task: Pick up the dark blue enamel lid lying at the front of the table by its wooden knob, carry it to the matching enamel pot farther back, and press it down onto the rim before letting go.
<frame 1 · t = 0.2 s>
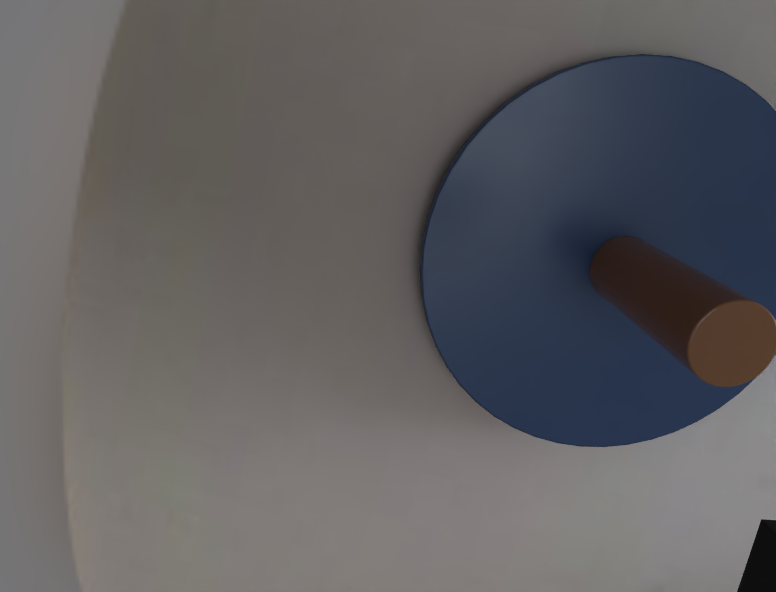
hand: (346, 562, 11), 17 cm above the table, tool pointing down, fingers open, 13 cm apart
pot lid: (616, 264, 27), point 1 cm above the table
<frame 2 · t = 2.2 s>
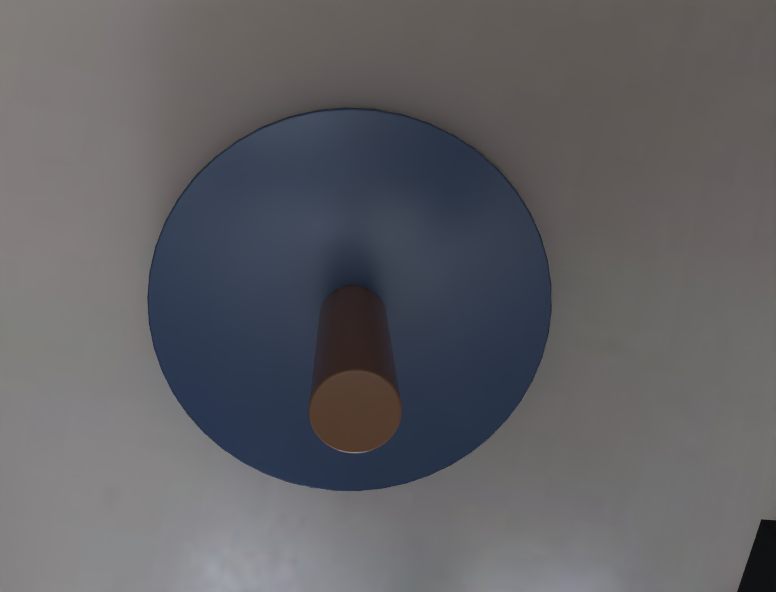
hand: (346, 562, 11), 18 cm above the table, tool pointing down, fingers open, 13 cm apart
pot lid: (352, 311, 27), point 1 cm above the table
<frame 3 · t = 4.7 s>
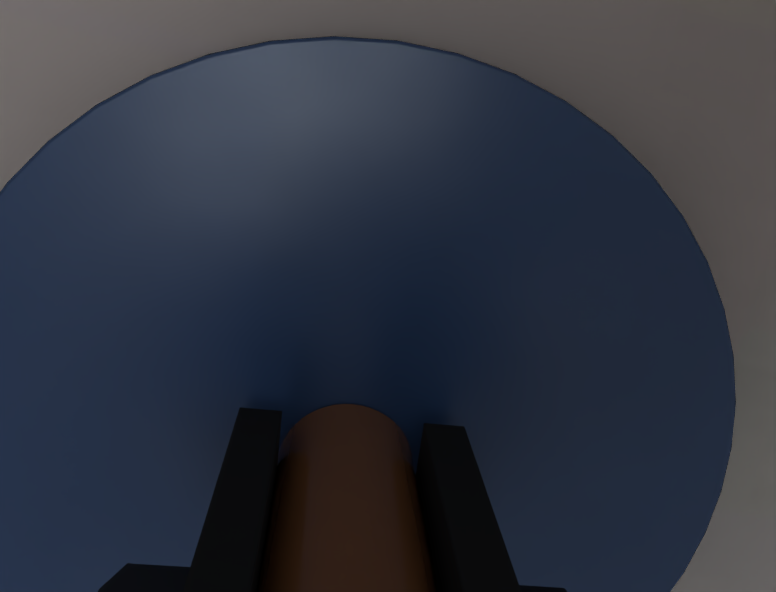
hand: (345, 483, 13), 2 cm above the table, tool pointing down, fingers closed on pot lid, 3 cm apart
pot lid: (345, 446, 14), point 1 cm above the table, touching gripper
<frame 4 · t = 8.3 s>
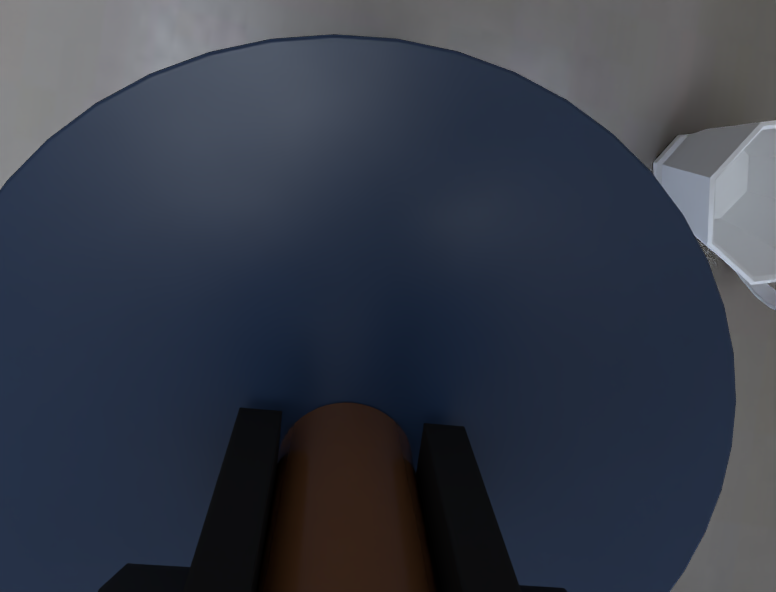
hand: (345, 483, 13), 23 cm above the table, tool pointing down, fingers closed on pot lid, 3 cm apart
cup: (701, 199, 35), on the table
pot lid: (345, 445, 14), point 22 cm above the table, touching gripper
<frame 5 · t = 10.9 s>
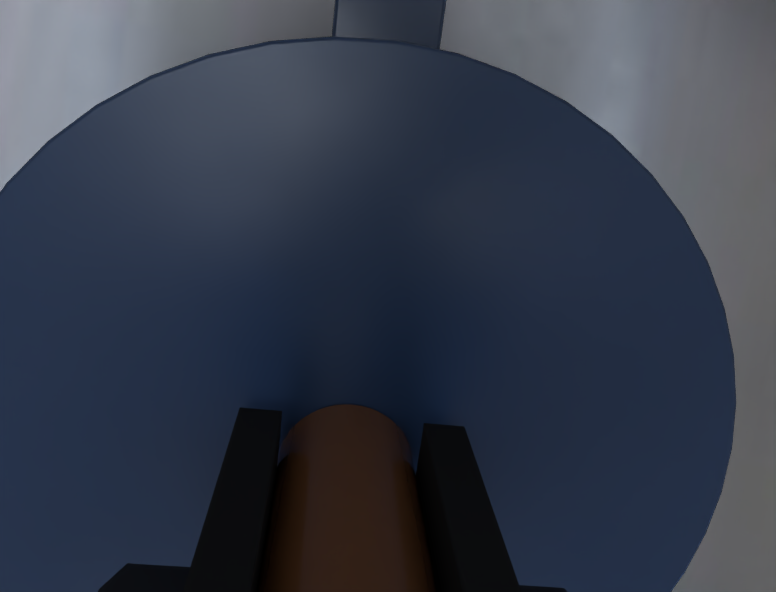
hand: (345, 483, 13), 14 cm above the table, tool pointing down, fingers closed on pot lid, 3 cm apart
pot: (346, 275, 26), on the table
pot lid: (345, 447, 14), point 12 cm above the table, touching gripper
when the fingers open (11 cm above the table, at t = 12.2 s): pot lid stays where it is, resting on pot.
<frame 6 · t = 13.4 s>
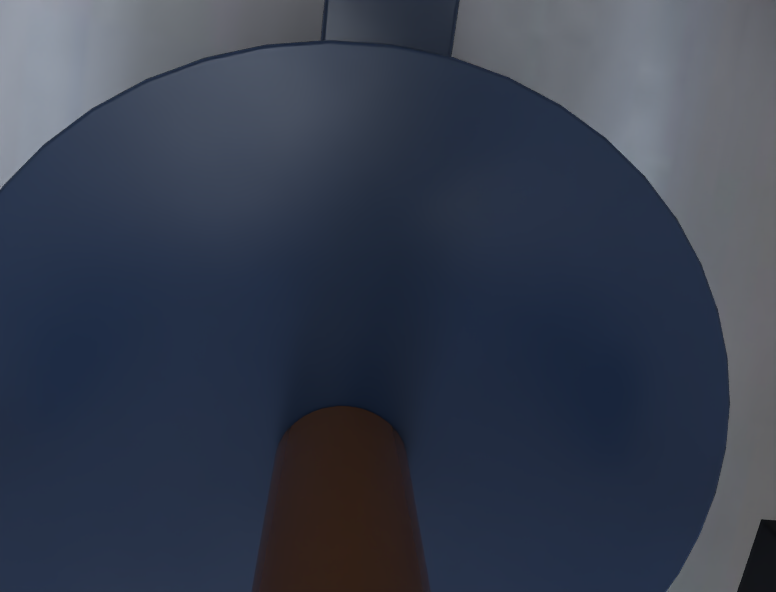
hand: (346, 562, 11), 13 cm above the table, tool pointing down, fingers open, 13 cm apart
pot: (341, 303, 23), on the table
pot lid: (341, 448, 14), point 9 cm above the table, touching pot
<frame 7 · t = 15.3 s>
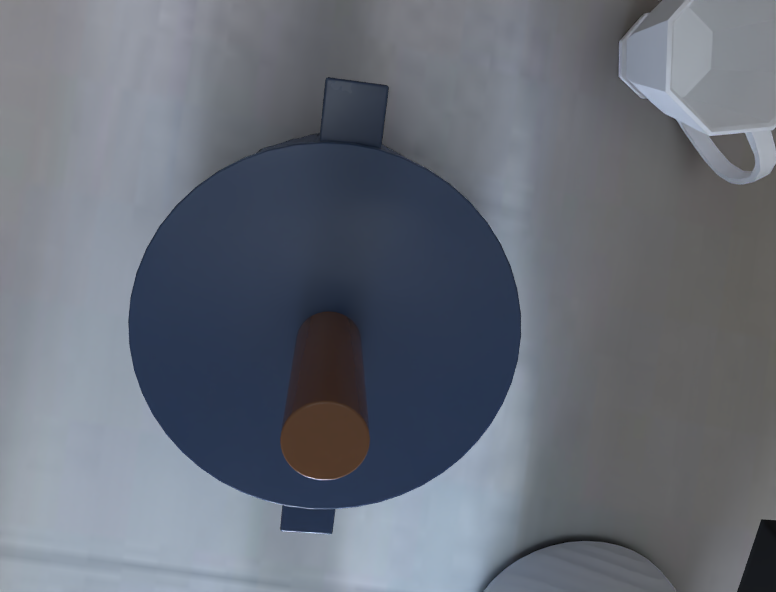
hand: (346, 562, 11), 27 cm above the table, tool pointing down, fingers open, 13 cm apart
pot: (331, 273, 37), on the table
cup: (666, 82, 36), on the table
pot lid: (329, 336, 28), point 9 cm above the table, touching pot
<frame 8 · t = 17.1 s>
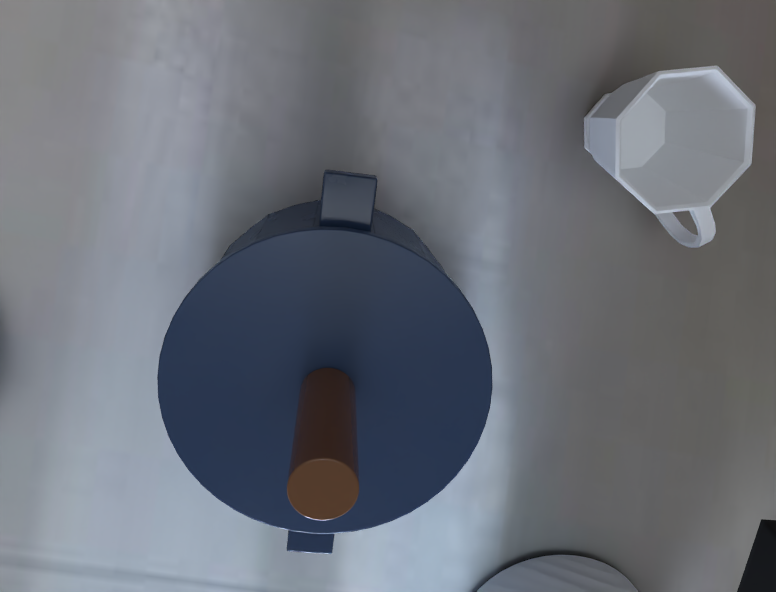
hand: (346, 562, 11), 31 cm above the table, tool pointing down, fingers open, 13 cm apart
pot: (331, 319, 42), on the table
cup: (627, 152, 40), on the table
pot lid: (327, 387, 33), point 9 cm above the table, touching pot
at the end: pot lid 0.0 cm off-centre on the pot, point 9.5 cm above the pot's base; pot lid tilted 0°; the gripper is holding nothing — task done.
